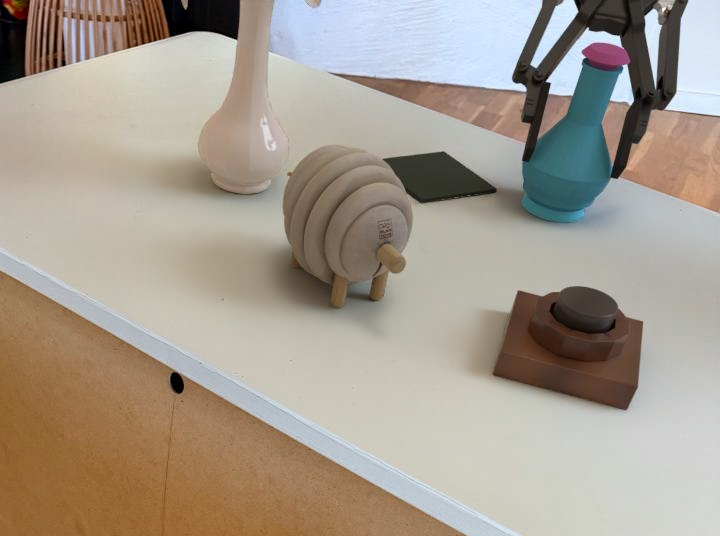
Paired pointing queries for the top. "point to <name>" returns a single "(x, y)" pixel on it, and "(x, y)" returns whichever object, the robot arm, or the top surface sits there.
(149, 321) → the top surface
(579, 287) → the button
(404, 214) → the toy sheep
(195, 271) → the top surface
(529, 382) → the button block
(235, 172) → the flower vase
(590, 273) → the top surface
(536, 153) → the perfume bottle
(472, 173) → the coaster
